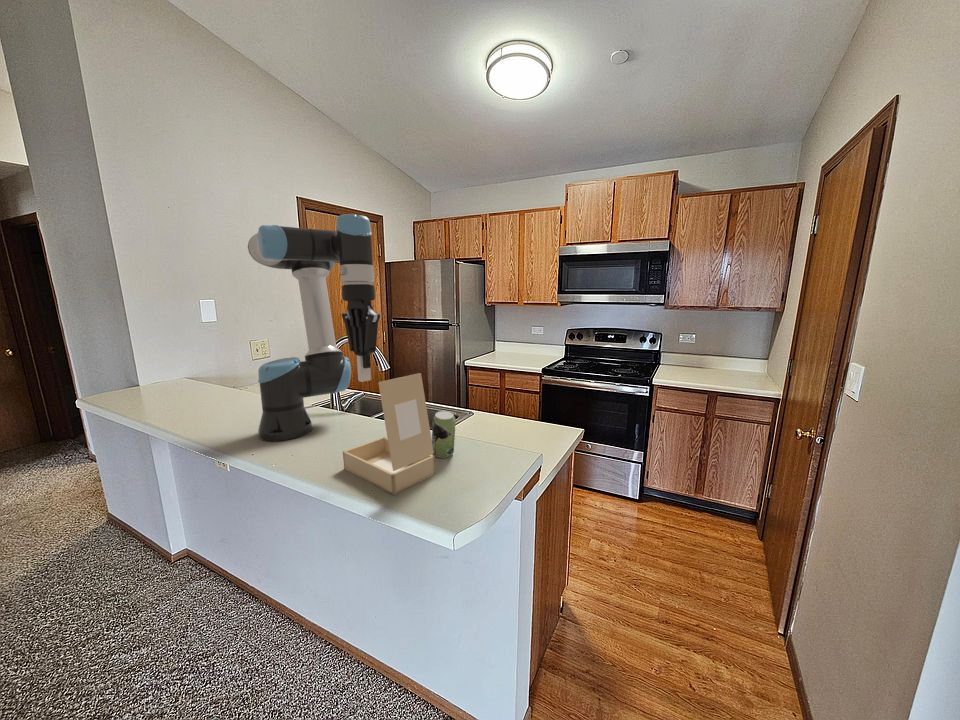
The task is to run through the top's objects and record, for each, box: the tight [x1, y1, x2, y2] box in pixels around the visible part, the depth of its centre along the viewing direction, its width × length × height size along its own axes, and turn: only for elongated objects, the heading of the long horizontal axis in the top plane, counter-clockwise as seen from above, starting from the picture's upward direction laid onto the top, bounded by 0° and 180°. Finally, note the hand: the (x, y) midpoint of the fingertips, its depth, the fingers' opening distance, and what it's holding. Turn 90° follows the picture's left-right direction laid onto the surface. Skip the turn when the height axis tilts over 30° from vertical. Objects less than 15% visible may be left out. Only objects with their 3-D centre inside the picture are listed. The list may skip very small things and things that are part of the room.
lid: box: [378, 372, 434, 471], centre depth 85 cm, size 19×12×1 cm
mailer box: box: [342, 436, 436, 496], centre depth 92 cm, size 20×12×5 cm, turn 50°
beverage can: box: [431, 410, 457, 459], centre depth 100 cm, size 6×7×12 cm
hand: (364, 380), depth 94 cm, fingers closed
